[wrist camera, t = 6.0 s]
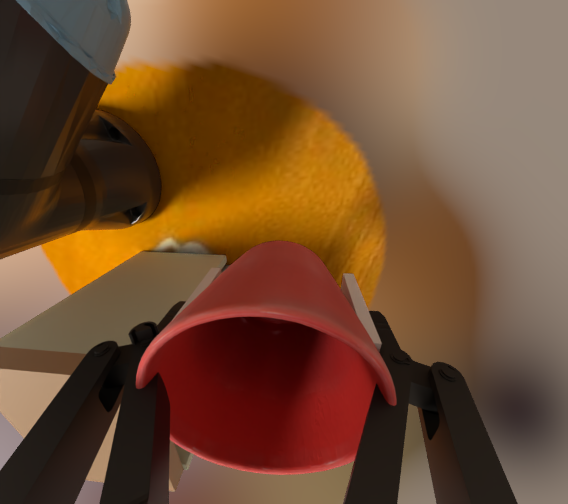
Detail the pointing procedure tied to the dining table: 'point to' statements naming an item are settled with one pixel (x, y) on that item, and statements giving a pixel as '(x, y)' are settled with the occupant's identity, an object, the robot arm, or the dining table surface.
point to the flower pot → (269, 367)
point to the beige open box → (95, 338)
